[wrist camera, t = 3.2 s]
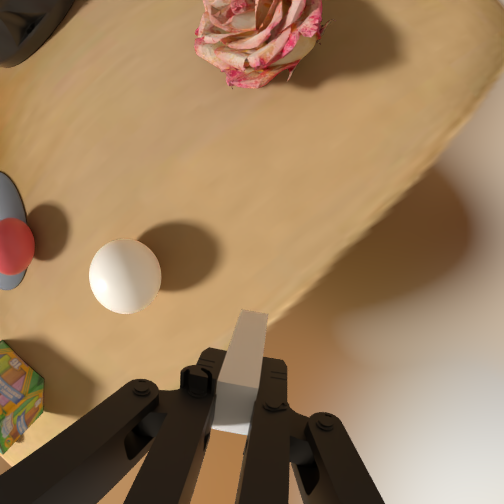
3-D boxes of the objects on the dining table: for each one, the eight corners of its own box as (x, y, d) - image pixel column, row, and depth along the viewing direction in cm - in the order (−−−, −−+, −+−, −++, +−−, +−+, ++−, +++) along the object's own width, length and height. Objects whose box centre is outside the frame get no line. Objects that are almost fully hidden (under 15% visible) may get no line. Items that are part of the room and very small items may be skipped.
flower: (332, -13, 15) (264, -70, 9) (381, 74, 15) (318, 11, 9) (242, 42, 21) (167, 13, 15) (266, 126, 21) (180, 108, 15)
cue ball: (113, 227, 22) (73, 241, 17) (174, 237, 22) (143, 255, 17) (113, 289, 24) (77, 315, 18) (170, 303, 23) (142, 335, 18)
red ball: (13, 211, 23) (-24, 219, 18) (44, 216, 23) (4, 226, 17) (15, 261, 24) (-20, 275, 19) (46, 271, 24) (9, 288, 19)
